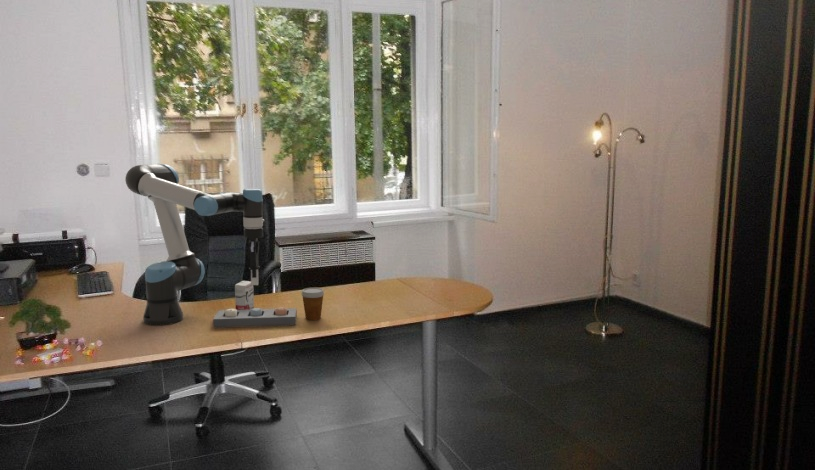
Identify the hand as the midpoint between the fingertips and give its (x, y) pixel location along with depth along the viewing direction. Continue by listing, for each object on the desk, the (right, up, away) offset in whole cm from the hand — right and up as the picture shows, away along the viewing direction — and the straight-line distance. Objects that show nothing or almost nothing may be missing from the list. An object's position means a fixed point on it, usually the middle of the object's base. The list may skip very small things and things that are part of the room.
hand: (254, 284), depth 240 cm
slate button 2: (0, -15, +3) cm, 16 cm away
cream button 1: (-10, -15, +1) cm, 18 cm away
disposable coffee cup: (+22, -15, +9) cm, 28 cm away
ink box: (-9, -13, +20) cm, 26 cm away
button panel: (0, -15, +3) cm, 16 cm away
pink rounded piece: (+10, -15, +4) cm, 19 cm away
